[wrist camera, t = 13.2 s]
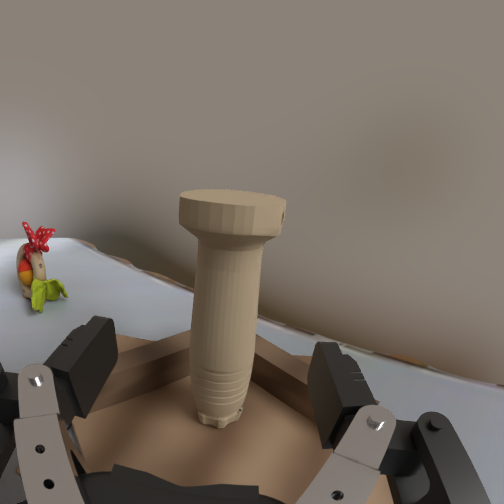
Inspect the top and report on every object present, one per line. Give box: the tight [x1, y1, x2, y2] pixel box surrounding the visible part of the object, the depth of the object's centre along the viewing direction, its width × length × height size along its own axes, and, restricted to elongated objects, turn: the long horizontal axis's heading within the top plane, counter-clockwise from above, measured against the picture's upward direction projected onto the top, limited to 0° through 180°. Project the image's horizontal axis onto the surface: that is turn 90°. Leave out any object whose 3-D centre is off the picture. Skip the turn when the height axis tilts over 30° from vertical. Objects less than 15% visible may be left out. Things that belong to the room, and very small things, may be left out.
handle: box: [179, 189, 286, 428], centre depth 16 cm, size 5×6×15 cm
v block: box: [16, 330, 394, 504], centre depth 17 cm, size 24×18×4 cm
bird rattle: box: [17, 222, 68, 313], centre depth 28 cm, size 6×11×9 cm
